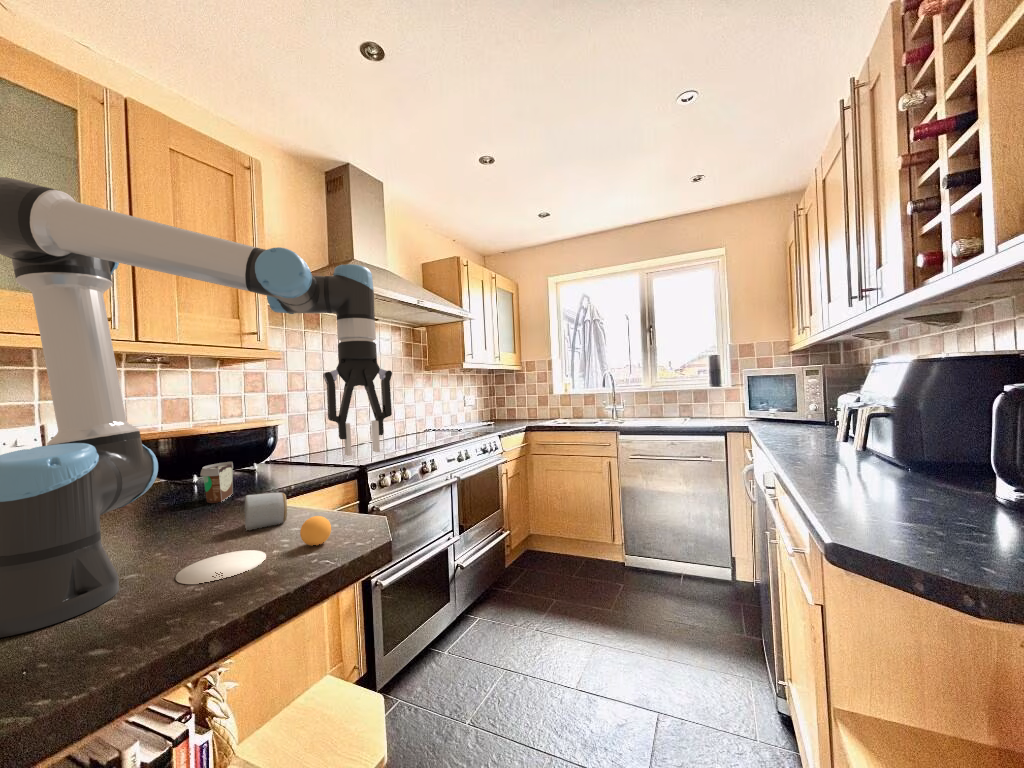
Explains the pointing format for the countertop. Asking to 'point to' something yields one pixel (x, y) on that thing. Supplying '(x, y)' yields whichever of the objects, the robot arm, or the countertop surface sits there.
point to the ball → (315, 530)
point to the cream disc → (220, 566)
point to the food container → (218, 481)
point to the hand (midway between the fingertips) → (362, 452)
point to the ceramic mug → (265, 510)
